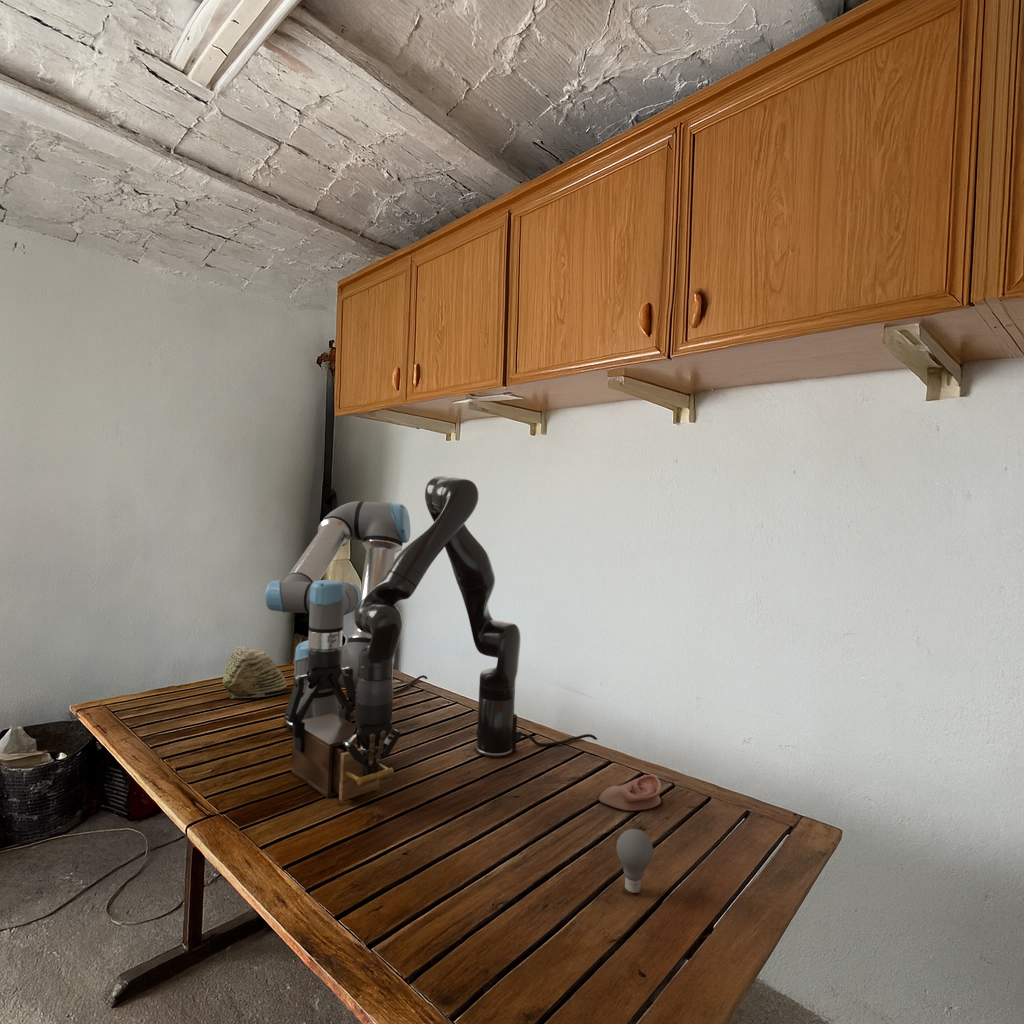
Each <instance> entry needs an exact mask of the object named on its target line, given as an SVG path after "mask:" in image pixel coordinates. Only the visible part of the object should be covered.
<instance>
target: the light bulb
mask: <svg viewBox="0 0 1024 1024" xmlns="http://www.w3.org/2000/svg"><path fill="white" fill-rule="evenodd" d="M615 849H616V854H617V857H618V859H619V861H620V863H621V865H622V867H623V873H624V874H623V875H624V876H625V878H624V888H625V890H627V891H628V892H630V893H634V894H635V893H639V892H640V891H641V889H642V887H641V886H642V879H643V877H644V875H645V871H646V868H647V867H648V866H649V864H650V863H651V861H652V859H653V855H654V847H653V843H652V841H651V838H649V836H648V835H647V834H646V833H645V832H643V831H642V830H641V829H636V828H629V829H627V830H625V831H623V832H622V833H621V834H620V835H619V837H618V839H617V841H616V847H615Z"/></svg>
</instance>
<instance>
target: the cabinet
mask: <svg viewBox="0 0 1024 1024" xmlns="http://www.w3.org/2000/svg"><path fill="white" fill-rule="evenodd" d="M302 721H303V722H304V723H305V732H304V752H301V753H300V752H299V751H297V750H296V749H295V737H294V736H293V735H292V738H291V739H292V740H291V761H290V762H291V764H290V765H291V766H290V773H292V774H294V775H295V776H296V777H298V778H299V779H301V780H302V781H303V782H305V783H306V784H308V786H310V787H311V788H313V789H315V790H316V791H317V792H319V793H320V794H321V795H323V796H324V797H326V799H328V798H331V797H335V796H337V795H338V796H339V794H338V793H336V792H335V791H334V790H332V789H331V779H332V754H333V747H335V746H339V745H342V744H343V742H344V741H345V740H347V741H348V740H349V739H350V738H351V737H352V736H353V731H354V729H355V726H356V724H354V723H352V722H349V721H347V720H345V719H343V718H341V717H339V716H337V715H335V714H334V713H331V714H327V715H322V716H318V717H314V718H309V719H305V720H302Z"/></svg>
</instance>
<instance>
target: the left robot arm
mask: <svg viewBox="0 0 1024 1024" xmlns="http://www.w3.org/2000/svg"><path fill="white" fill-rule="evenodd" d="M410 538H411V520H410V515H409V511H408V509H407V507H406V505H405V504H402V503H397V502H391V501H389V502H380V501H360V500H355V501H350V502H347V503H345V504H341V505H340V506H338V507H336V508H335V509H333V510H332V511H330V512H329V513H328V514H327V515H325V517H323V519H322V520H321V521H320V523H319V525H318V526H317V534H315V536H314V537H313V539H312V540H311V542H310V543H309V545H308V546H307V547H306V549H305V550H304V552H302V555H301V556H300V558H299V559H298V560H297V562H296V563H295V565H294V566H292V567H293V568H291V570H290V572H289V573H288V574H287V576H286V577H285V578H284V580H281V579H279V580H272V581H270V582H269V583H268V584H267V586H266V588H265V592H264V601H265V606H266V607H267V609H268V610H270V611H274V612H281V613H295V614H296V613H297V614H298V613H299V614H308V615H309V617H308V620H309V621H308V639H307V640H304V641H302V642H300V643H298V644H297V645H296V647H295V654H294V659H293V661H294V670H293V671H294V672H293V686H292V690H291V693H290V696H289V699H288V703H287V706H286V709H285V713H284V716H283V719H284V720H285V726H286V728H287V729H289V730H291V734H292V735H293V736H294V737H295V749H296V750H297V751H299V752H300V753H301V752H304V732H305V723H304V722H303V721H302V720H305V719H309V718H314V717H318V716H322V715H327V714H331V713H334V714H335V715H337V716H339V717H341V718H343V719H345V720H347V721H349V722H351V720H352V713H353V712H355V705H356V687H357V681H358V669H359V655H360V652H361V650H362V649H363V648H365V647H368V646H369V645H370V641H371V635H370V634H367V633H365V632H362V631H361V630H359V629H358V628H357V626H356V624H355V625H354V626H355V627H354V631H353V632H352V633H351V634H350V635H349V636H348V637H347V642H346V644H343V633H344V616H347V615H349V614H351V613H353V612H354V611H356V610H357V608H358V606H359V604H360V602H361V601H362V600H363V599H364V597H365V596H366V595H367V594H368V593H369V592H370V591H371V590H372V589H373V588H374V587H375V586H376V585H377V584H378V583H379V582H380V581H381V580H383V578H384V577H385V575H386V574H387V572H388V570H389V569H390V567H391V566H392V564H393V562H394V561H395V559H396V558H397V554H399V553H400V552H401V551H402V550H403V545H404V544H406V543H408V542H410ZM350 541H362V547H363V548H364V549H365V550H366V553H365V558H364V559H365V560H364V566H363V571H362V572H363V573H362V580H361V586H360V588H359V587H358V585H357V584H355V583H353V582H349V581H348V582H347V581H346V582H343V581H341V580H337V579H322V578H323V577H324V575H325V573H326V572H327V570H328V569H329V567H330V565H331V564H332V562H333V560H334V559H335V557H336V556H337V554H338V552H339V551H340V550H341V548H342V547H345V546H346V545H347V544H348V543H349V542H350ZM395 657H396V656H395V654H394V657H393V666H394V664H395ZM422 678H423V679H425V680H428V676H427V675H423V674H422V675H419V676H418V677H416V678H415V679H413V680H411V681H410V682H409V683H408V684H407V685H405V686H403V687H401V688H399V689H397V690H393V695H394V694H397V693H401V692H403V691H404V690H406V689H408V688H409V687H410V686H412V685H413V684H414V683H416V682H417V681H419V680H421V679H422ZM343 689H345V692H346V694H345V692H344V690H343ZM351 723H352V722H351Z"/></svg>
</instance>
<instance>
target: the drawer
mask: <svg viewBox="0 0 1024 1024" xmlns="http://www.w3.org/2000/svg"><path fill="white" fill-rule="evenodd" d="M357 744H358V748H357V749H358V750H359V752H360V753H361V754H362V751H361V745H360V744H359V742H358V741H357ZM379 769H380V770H379V772H376V773H372V774H369V775H366V776H363V765H362V764H360V763H359V762H357V761H356V760H355V759H354V758H353V757H352V756H351V754H350V753H349V752H348V751H347V750H346V748H345V747H344V746H343V744H342V745H339V746H335V747H333V754H332V779H331V789H332V790H334V791H335V792H336V793H338V800H340V801H341V802H343V801H346V800H349V799H351V798H352V799H353V798H355V797H358V796H361V795H363V794H367V793H369V792H373V791H375V790H378V789H379V788H380V779H382V778H386V777H389V776H392V775H394V772H395V771H394V768H393V767H387V766H385V765H384V764H382V763H381V761H380V762H379ZM374 780H376V781H374ZM371 781H373V782H371ZM369 782H370V783H369Z"/></svg>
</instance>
